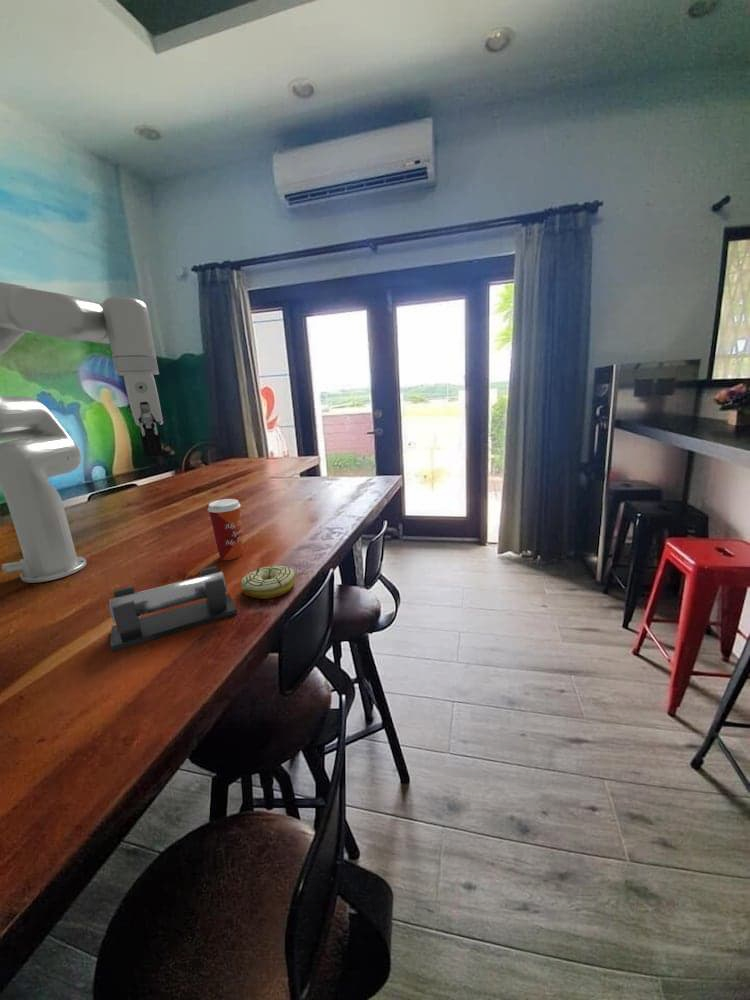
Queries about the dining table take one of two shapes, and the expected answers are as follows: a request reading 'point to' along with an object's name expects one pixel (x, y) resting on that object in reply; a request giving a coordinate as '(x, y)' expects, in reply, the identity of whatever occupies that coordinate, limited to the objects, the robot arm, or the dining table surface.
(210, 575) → the rail
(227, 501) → the paper cup
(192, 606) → the cradle stand
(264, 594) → the decorated donut
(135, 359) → the robot arm
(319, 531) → the dining table surface
